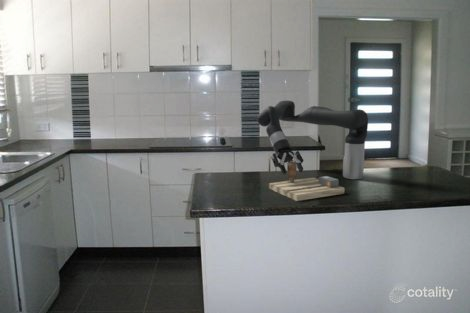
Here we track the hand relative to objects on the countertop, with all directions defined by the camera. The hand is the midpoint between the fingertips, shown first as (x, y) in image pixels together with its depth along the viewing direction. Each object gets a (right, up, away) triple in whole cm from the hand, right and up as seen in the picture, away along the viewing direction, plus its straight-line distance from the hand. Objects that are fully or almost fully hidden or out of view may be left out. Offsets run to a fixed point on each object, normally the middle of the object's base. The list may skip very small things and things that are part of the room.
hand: (293, 172), depth 188 cm
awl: (0, -7, +2) cm, 7 cm away
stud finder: (+15, -5, -4) cm, 16 cm away
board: (+5, -8, -4) cm, 10 cm away
